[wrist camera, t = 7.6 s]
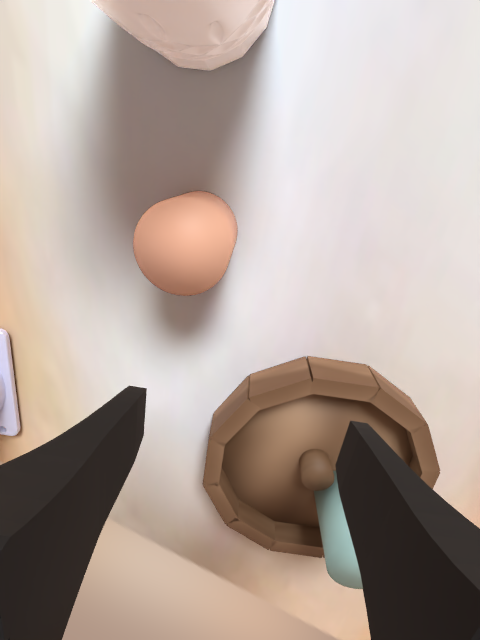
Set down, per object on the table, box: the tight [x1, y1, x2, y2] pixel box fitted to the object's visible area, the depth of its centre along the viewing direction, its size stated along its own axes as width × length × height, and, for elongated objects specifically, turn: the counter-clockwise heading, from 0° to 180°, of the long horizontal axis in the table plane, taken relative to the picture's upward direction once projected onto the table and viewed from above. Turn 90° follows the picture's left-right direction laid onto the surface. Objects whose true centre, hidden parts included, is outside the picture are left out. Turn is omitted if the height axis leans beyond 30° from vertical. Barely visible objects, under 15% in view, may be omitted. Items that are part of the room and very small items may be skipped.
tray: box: [203, 356, 440, 558], centre depth 23 cm, size 14×14×2 cm
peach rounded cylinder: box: [133, 191, 237, 296], centre depth 17 cm, size 4×4×5 cm
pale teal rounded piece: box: [314, 470, 363, 589], centre depth 22 cm, size 4×4×5 cm
